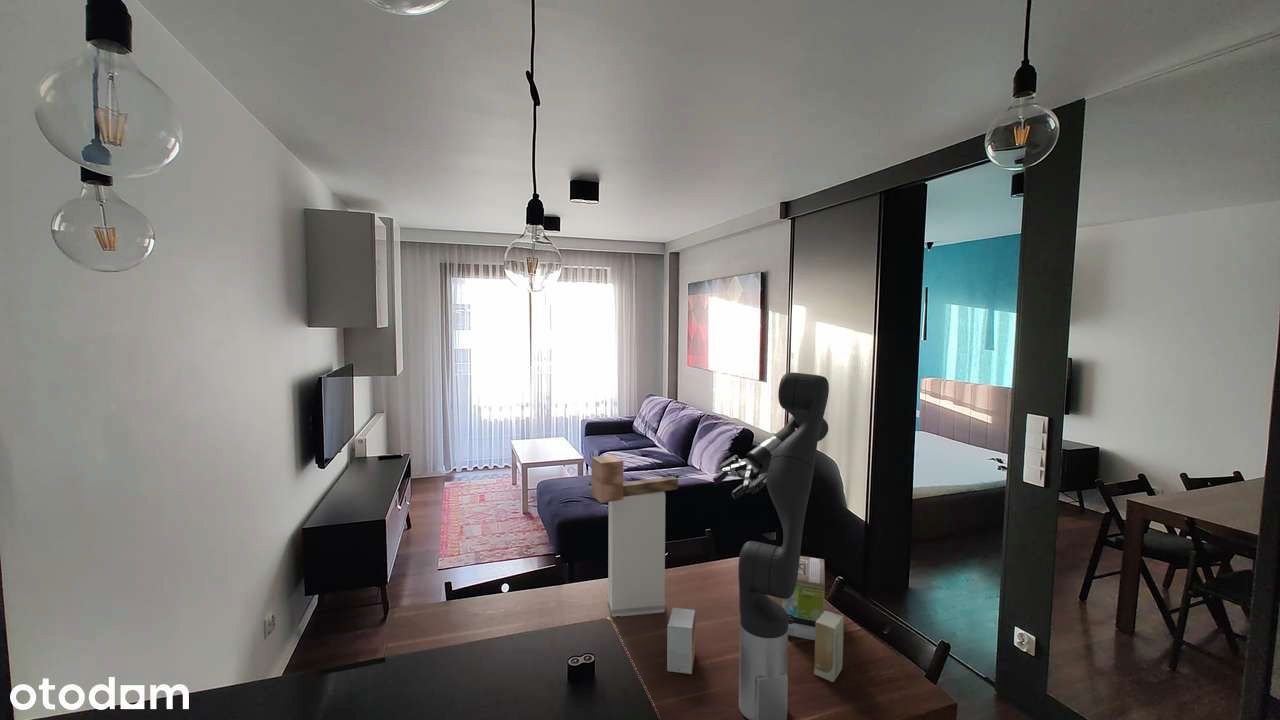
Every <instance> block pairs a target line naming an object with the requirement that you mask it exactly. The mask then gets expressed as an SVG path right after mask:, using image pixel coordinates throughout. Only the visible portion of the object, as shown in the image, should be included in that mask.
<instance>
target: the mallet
mask: <svg viewBox="0 0 1280 720" xmlns="http://www.w3.org/2000/svg"><path fill="white" fill-rule="evenodd" d="M590 458H591V468H590V469H591V470H590V471H591V474H590V475H591V476H590V477H591V478H590V479H591V482H590V483H591V486H590V488H591V492H590V493H591V496H592V497H593V498H594V499H595V500H597V501H598V502H600V503H601V504H602V503H603V504H604V503H609V502H611V501H618V500H623V497H626V496H633V495H640V494H647V493H654V492H661V491H664V492H665V491H666V492H667V491H673V490H674V491H675V490H678V489H679V478H677V477H675V476H673V475H669V476H661V477H655V478H647V479H641V480H633V481H625V482H624V460H623V459H621V458H619V457H618V456H616V455H614V454H606V455H605V454H604V455H597V456H596V455H595V456H591V457H590Z"/></svg>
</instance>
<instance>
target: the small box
mask: <svg viewBox="0 0 1280 720" xmlns="http://www.w3.org/2000/svg"><path fill="white" fill-rule="evenodd" d="M666 628H667V629H666V633H667V634H666V636H667V639H666V640H667V641H666V642H667V643H666V645H667V647H666V650H667V651H666V654H667V655H666V663H667V664H666V666H667V667H666V668H667V669H666V671H667V672H670V673H671V672H672V673H679V674H680V673H681V674H689V675H693V667H694V661H695V654H696V645H695V644H696V610H695V609H689V608H688V609H687V608H679V607H671V612H670V616H669V620H668V623H667V627H666Z"/></svg>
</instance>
